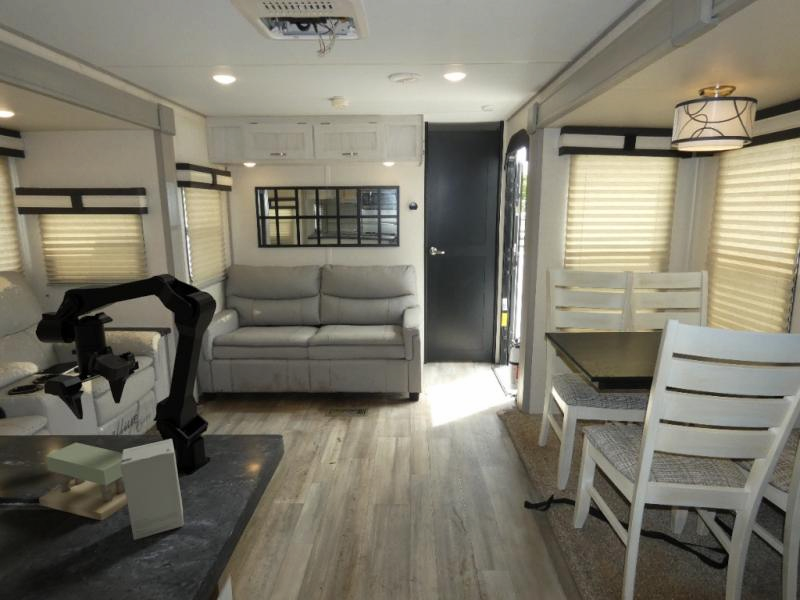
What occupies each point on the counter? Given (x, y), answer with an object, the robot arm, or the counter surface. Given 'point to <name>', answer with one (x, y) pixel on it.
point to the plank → (86, 463)
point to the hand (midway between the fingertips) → (99, 410)
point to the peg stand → (86, 497)
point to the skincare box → (152, 488)
